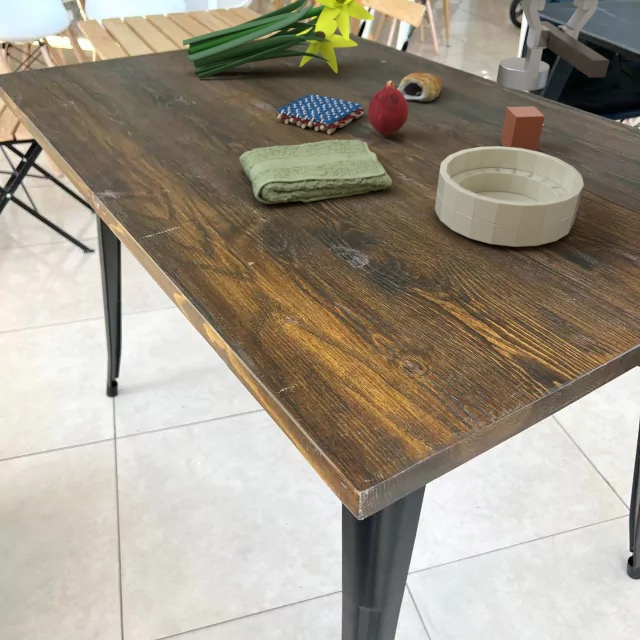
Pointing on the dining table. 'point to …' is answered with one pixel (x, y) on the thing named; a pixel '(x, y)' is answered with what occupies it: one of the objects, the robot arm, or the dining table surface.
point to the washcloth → (313, 171)
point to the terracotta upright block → (522, 128)
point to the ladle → (535, 72)
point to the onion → (388, 110)
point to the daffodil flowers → (278, 36)
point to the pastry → (420, 87)
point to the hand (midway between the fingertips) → (550, 47)
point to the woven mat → (320, 113)
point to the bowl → (508, 195)
